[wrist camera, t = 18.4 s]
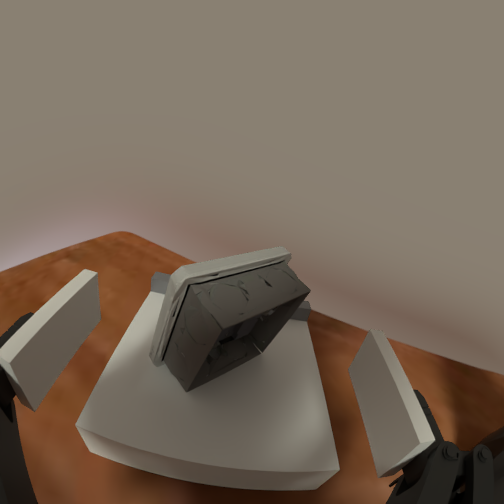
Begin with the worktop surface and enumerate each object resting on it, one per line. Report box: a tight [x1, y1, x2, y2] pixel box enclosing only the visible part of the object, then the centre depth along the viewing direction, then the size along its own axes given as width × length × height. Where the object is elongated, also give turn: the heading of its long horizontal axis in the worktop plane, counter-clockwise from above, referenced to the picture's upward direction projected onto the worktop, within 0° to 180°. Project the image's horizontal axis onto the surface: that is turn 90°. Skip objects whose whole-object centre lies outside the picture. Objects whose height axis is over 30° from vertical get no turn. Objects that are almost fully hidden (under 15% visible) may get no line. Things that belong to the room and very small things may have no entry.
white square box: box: [76, 272, 340, 490], centre depth 21 cm, size 16×18×6 cm
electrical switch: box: [149, 246, 310, 392], centre depth 18 cm, size 9×5×9 cm, turn 135°
